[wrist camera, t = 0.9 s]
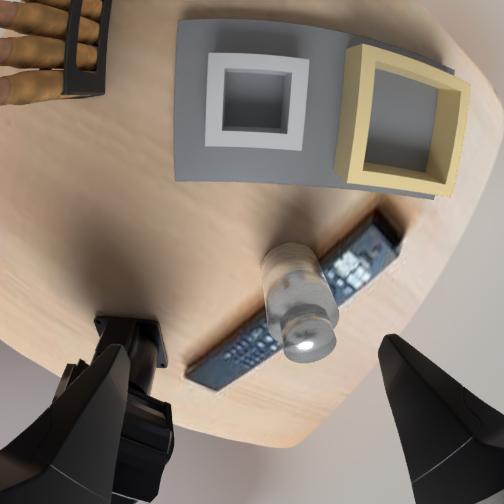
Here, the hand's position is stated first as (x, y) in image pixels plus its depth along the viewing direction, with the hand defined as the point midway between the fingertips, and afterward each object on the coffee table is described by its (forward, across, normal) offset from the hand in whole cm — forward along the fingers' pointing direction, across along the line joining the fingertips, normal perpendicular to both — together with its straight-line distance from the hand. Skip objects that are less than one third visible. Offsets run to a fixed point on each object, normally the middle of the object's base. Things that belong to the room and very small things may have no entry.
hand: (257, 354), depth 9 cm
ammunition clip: (+13, +10, -14) cm, 21 cm away
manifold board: (+12, -5, -7) cm, 15 cm away
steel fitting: (+12, -3, +5) cm, 14 cm away
